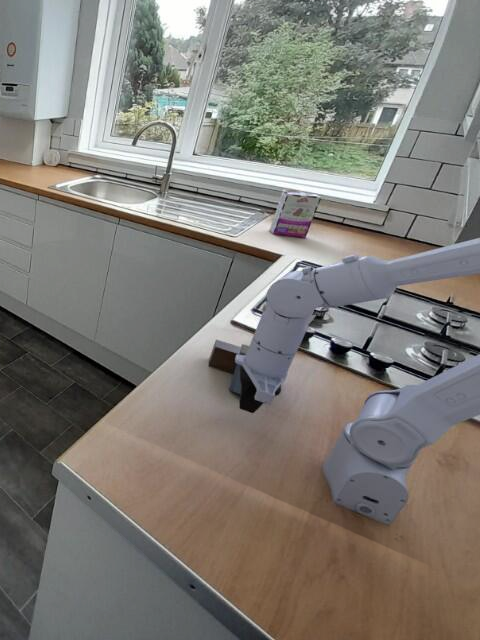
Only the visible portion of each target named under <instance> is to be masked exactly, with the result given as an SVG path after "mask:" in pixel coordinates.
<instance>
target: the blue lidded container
mask: <svg viewBox="0 0 480 640" xmlns="http://www.w3.org/2000/svg"><path fill="white" fill-rule="evenodd" d="M249 346H250V345H248V344H243V343H242V344H241V346H240V347H241V349H240V353H239V355H242V356H245V355H246V353H247V351H248V348H249ZM241 386H242V385H241V381H240V365H239V364H237V363H236V366H235V370H234V373H233V374H232V378H231V382H230V384H229V387H228V391H230V392H232V393H236V394H238V395H240V392H241Z"/></svg>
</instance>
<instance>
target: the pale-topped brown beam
mask: <svg viewBox="0 0 480 640" xmlns="http://www.w3.org/2000/svg"><path fill="white" fill-rule="evenodd" d="M240 349H241V346H238V345H236V344H232V343H229V342H226V341H223V340H220V339H215V341H214V344H213V346H212V350H211V352H210V355H209V357H208V364H207V365H208V367H209V368H212V369H215V370H218V371H220V372H225V373H228V374H230V375H233V373H234V370H235V366H236V362H235V357H236V355H239V353H240ZM288 372H289V370H288V371H287V373H288ZM282 384H283V383H282ZM282 384H281V385H280V386H281V387H282Z"/></svg>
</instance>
